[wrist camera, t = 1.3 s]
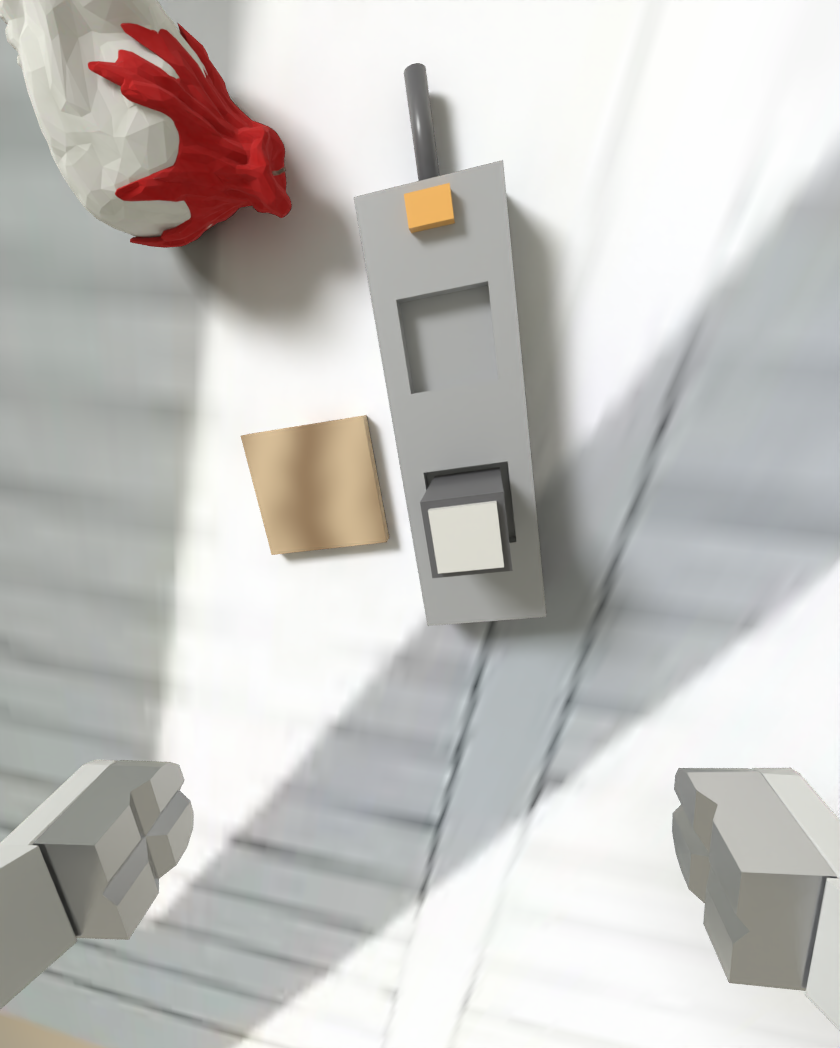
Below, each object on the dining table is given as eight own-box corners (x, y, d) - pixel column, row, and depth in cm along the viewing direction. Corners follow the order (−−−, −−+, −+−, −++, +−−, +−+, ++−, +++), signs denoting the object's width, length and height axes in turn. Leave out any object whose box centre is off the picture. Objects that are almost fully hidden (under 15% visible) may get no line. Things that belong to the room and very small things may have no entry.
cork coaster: (366, 415, 32) (362, 416, 31) (389, 537, 35) (386, 542, 34) (247, 434, 34) (240, 435, 33) (277, 550, 36) (271, 554, 35)
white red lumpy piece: (80, 20, 27) (331, 97, 28) (76, 233, 31) (299, 295, 32) (-79, -141, 19) (289, -23, 20) (-60, 180, 22) (252, 267, 23)
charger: (499, 467, 29) (503, 493, 22) (506, 529, 31) (513, 573, 24) (434, 475, 30) (418, 504, 23) (443, 536, 31) (431, 581, 24)
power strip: (488, 64, 26) (489, 0, 21) (540, 592, 34) (547, 622, 30) (350, 103, 27) (325, 51, 23) (433, 601, 36) (426, 631, 31)
